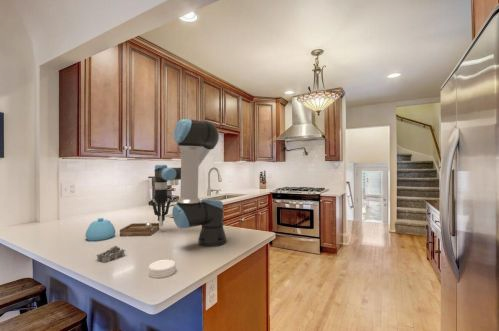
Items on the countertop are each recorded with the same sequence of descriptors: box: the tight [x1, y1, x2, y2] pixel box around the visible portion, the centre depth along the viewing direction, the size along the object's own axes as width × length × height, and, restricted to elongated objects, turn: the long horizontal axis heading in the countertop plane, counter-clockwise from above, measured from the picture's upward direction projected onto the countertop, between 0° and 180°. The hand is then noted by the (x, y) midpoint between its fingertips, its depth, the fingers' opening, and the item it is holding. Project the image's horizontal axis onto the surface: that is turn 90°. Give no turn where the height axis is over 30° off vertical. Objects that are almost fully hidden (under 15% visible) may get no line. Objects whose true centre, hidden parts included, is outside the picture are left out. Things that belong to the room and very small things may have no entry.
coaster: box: [148, 259, 177, 279], centre depth 96 cm, size 10×10×4 cm
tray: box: [119, 222, 160, 237], centre depth 155 cm, size 16×18×4 cm
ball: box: [145, 222, 152, 229], centre depth 155 cm, size 4×4×4 cm
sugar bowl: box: [84, 217, 116, 242], centre depth 144 cm, size 15×15×12 cm
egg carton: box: [95, 245, 126, 263], centre depth 112 cm, size 11×8×4 cm
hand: (161, 226), depth 155 cm, fingers closed
